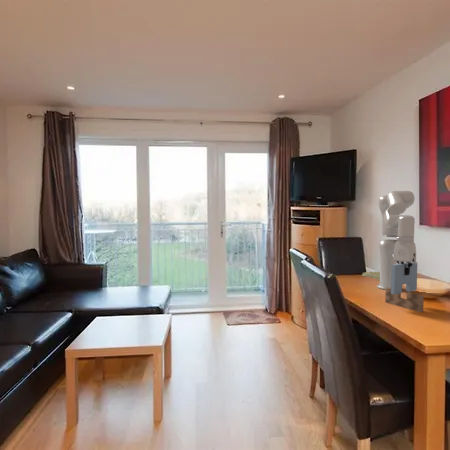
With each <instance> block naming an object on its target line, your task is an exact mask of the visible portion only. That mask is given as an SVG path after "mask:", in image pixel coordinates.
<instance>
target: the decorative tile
mask: <svg viewBox="0 0 450 450" xmlns="http://www.w3.org/2000/svg"><path fill="white" fill-rule="evenodd" d="M361 276H362V277H364V276H367V277H371V278H375V279H378V280H377V281H379V280H380V271H365V272H362V275H361ZM367 277H366V278H367ZM371 278H370V279H371ZM375 279H374V280H375Z"/></svg>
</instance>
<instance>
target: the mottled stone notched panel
mask: <svg viewBox="0 0 450 450" xmlns="http://www.w3.org/2000/svg"><path fill="white" fill-rule="evenodd" d="M424 298H425V296H424V295H421V294H417V293H413V292H406V298H404V297H402V293H399V294H391V288H389V287H388V288H386V289H385V298H384V299H385V301H384V302H385V303H387V304H390V305H394V306H397V307H398V306H399V307H401V308H404V309H408V310H411V311H415V312H418V313H423V312H424V303H425V299H424Z"/></svg>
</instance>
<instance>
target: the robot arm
mask: <svg viewBox="0 0 450 450" xmlns="http://www.w3.org/2000/svg"><path fill="white" fill-rule="evenodd" d="M414 202H415V195H414V193H413V191H410V190H393V191H390V192H389V193H388V194H386V195H382V196H380V197H379V198H378V208H379V210H380V214H381V234H382V236H383V237H386V238H395V239H385V238H384V239H382V240H380V242H379V243H378V246H379V247H378V248H379V258H380V259H379V260H380V262H379V272H380V281H379V283H377V285H376V288H378V289H380V290H386V288H388V287H389V288H391V265H394V264H402V263H406V267H405V273H404V275H409V273H410V267H411V266H412V265H415V264H417V265H418V262H417V248H416V247H417V246H416V243H415V223H416V221H415V217H414V216H412V215H410V214H409V215H408V214H407V215H406V214H404V215H402V214H403V213H404V212H406V211H407V209H409V208H410V207H411V206H412V205H413V204H414ZM411 262H412V263H411Z"/></svg>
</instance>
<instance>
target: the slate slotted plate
mask: <svg viewBox="0 0 450 450" xmlns="http://www.w3.org/2000/svg"><path fill="white" fill-rule="evenodd" d="M411 263H412V261H411ZM405 267H406V262H404V263H402V264H398V263H397V264H394V265H391V294H399V293H401V294H403V285H405V291H406V292H408V293H412V292H416V291H418V290H417V288H418V285H417V284H418V263H417V264H415V265H412V266H411V267H410V273H409V275H404V273H405Z"/></svg>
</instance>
